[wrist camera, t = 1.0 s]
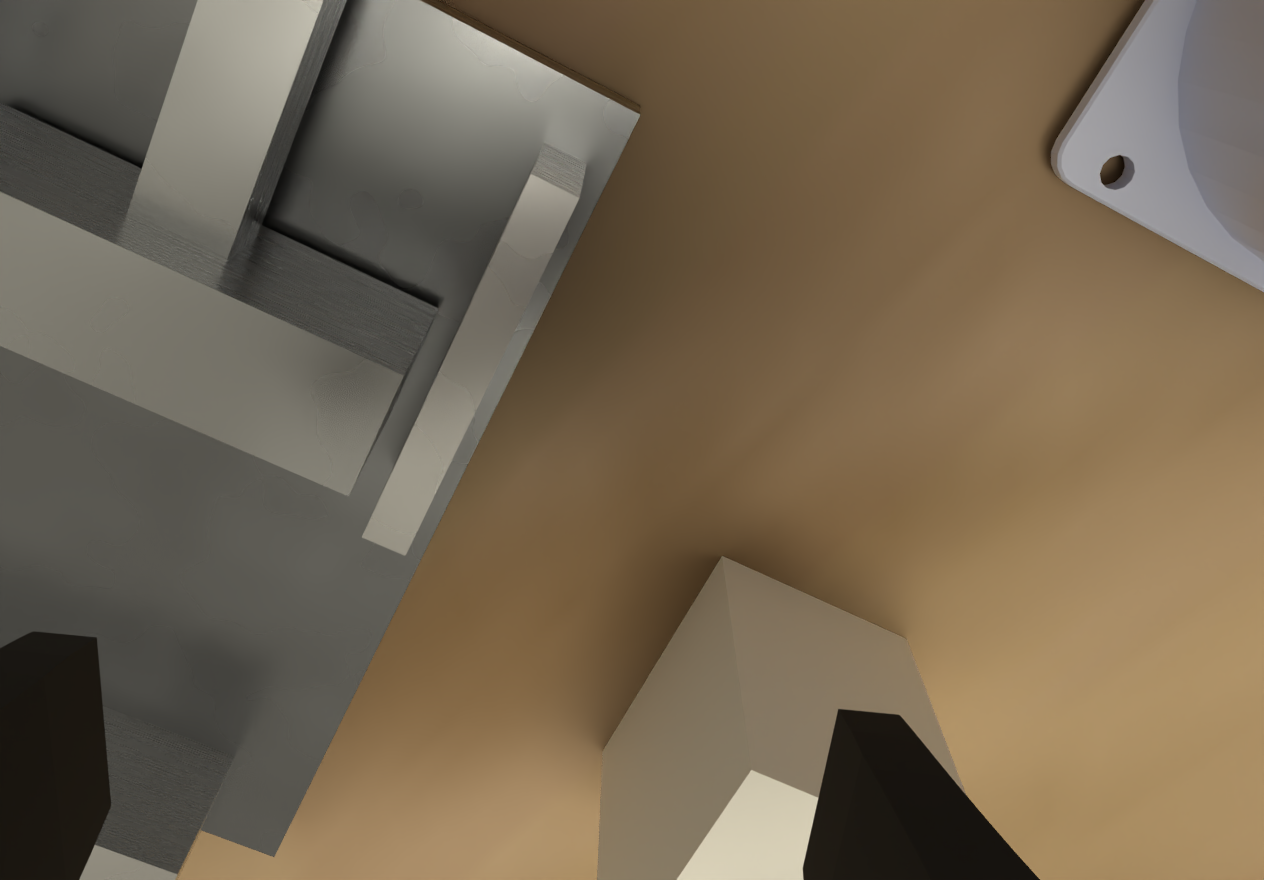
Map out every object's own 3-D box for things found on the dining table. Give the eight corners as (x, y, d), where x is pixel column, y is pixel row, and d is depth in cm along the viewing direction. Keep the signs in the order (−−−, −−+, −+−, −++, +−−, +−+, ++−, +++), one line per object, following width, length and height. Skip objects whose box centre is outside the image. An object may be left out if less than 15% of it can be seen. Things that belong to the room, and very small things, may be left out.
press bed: (640, 105, 18) (641, 149, 14) (287, 821, 24) (225, 982, 20) (7, -225, 16) (-175, -270, 13) (-210, 634, 22) (-377, 774, 18)
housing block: (906, 638, 22) (1005, 898, 16) (776, 820, 24) (822, 1115, 18) (721, 554, 21) (754, 794, 15) (602, 750, 23) (590, 1032, 17)
